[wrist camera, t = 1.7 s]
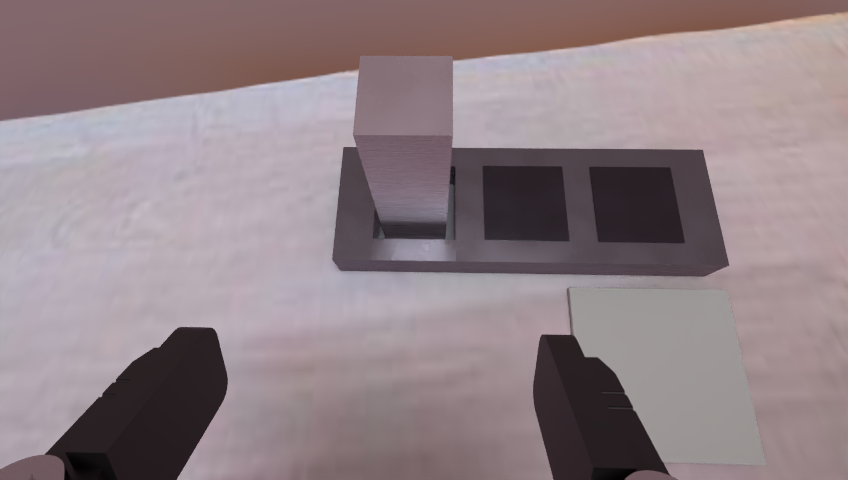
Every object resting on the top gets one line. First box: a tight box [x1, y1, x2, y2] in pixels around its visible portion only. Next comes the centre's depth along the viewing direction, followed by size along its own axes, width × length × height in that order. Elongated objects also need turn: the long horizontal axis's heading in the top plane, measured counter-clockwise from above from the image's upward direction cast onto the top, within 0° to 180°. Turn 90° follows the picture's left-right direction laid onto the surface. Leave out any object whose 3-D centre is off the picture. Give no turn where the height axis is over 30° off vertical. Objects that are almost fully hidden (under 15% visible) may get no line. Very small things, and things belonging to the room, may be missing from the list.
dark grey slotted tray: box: [332, 147, 729, 276], centre depth 29 cm, size 24×8×3 cm, turn 89°
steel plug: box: [353, 56, 453, 240], centre depth 24 cm, size 4×4×13 cm
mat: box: [567, 287, 766, 465], centre depth 26 cm, size 10×10×1 cm
